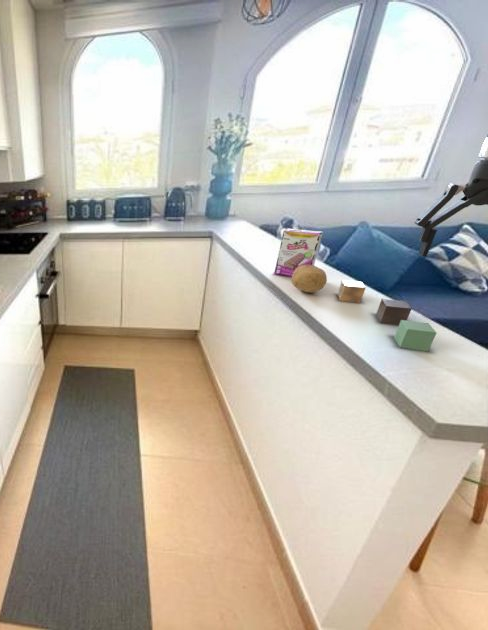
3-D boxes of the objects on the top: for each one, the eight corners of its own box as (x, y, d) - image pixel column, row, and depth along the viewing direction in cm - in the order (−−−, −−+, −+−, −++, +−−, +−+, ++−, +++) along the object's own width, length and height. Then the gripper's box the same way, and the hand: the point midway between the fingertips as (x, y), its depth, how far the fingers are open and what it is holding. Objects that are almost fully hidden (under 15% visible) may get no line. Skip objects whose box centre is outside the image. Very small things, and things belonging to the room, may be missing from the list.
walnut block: (398, 317, 94) (405, 301, 92) (404, 325, 90) (411, 308, 88) (375, 315, 96) (381, 298, 94) (380, 322, 92) (386, 306, 90)
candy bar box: (273, 274, 129) (282, 230, 121) (277, 270, 132) (286, 227, 124) (308, 280, 121) (320, 234, 114) (311, 276, 125) (323, 231, 117)
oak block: (357, 296, 107) (362, 281, 105) (360, 303, 103) (365, 287, 101) (337, 294, 109) (341, 280, 107) (340, 300, 105) (344, 285, 103)
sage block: (420, 341, 83) (428, 323, 81) (428, 351, 79) (436, 332, 77) (393, 337, 86) (401, 319, 83) (399, 347, 82) (407, 329, 79)
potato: (317, 283, 119) (323, 261, 115) (329, 299, 107) (336, 275, 103) (284, 281, 122) (289, 260, 118) (292, 297, 110) (298, 273, 107)
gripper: (430, 163, 74) (396, 258, 84) (611, 156, 64) (549, 265, 73) (418, 161, 80) (388, 249, 90) (581, 154, 70) (527, 255, 79)
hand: (460, 257), depth 81 cm, fingers open, 13 cm apart
